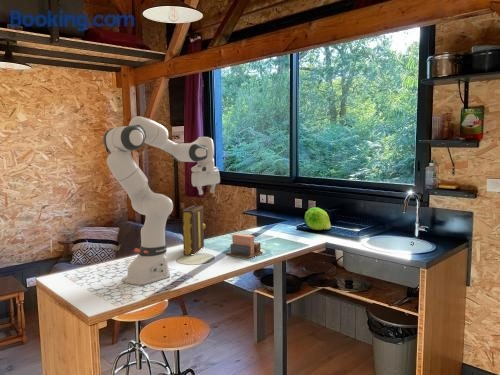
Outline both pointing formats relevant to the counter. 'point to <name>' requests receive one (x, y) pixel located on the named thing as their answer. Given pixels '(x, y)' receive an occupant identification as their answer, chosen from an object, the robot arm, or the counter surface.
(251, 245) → the boxed book
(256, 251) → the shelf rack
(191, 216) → the book
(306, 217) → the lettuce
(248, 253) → the bookend
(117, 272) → the counter surface
